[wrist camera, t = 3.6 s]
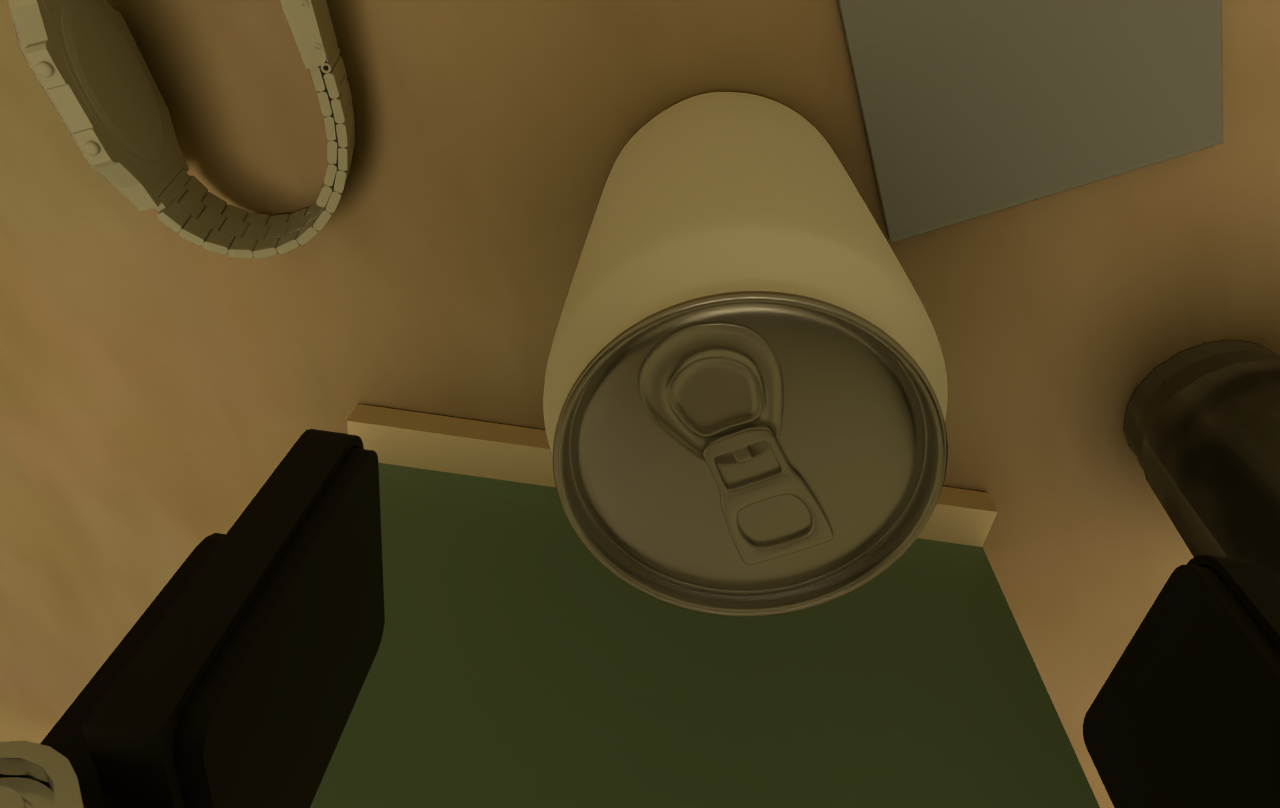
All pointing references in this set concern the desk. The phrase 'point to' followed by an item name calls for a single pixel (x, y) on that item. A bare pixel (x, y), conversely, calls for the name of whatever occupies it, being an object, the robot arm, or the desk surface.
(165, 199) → the wristwatch
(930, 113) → the grey mat
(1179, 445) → the beverage cup
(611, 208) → the can
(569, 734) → the chalkboard panel
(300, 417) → the desk surface
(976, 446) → the desk surface
